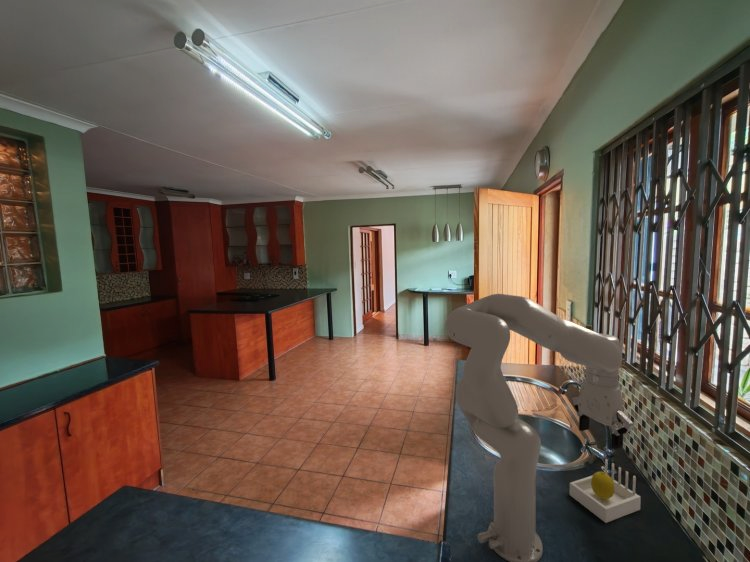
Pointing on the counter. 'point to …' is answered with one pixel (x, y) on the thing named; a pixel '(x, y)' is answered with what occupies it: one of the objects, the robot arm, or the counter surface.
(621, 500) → the rack
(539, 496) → the counter surface
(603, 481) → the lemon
